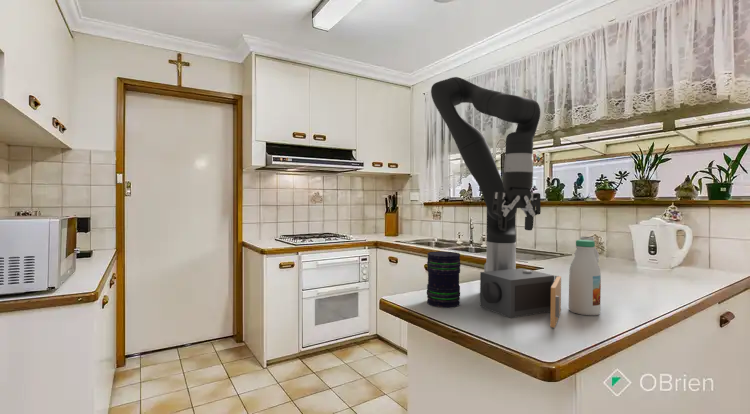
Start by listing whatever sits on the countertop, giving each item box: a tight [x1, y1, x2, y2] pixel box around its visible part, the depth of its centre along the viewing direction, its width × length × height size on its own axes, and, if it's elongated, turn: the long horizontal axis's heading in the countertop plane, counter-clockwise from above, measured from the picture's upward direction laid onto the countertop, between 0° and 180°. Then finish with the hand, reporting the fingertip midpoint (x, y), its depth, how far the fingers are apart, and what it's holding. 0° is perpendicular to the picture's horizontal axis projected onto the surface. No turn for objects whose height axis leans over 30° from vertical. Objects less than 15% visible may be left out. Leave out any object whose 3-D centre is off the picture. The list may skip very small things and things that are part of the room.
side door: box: [549, 275, 562, 329], centre depth 98 cm, size 17×2×10 cm, turn 149°
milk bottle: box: [568, 239, 602, 316], centre depth 105 cm, size 8×8×20 cm
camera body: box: [479, 267, 556, 319], centre depth 108 cm, size 18×12×11 cm
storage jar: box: [426, 250, 461, 309], centre depth 113 cm, size 10×10×15 cm
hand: (515, 230), depth 104 cm, fingers open, 8 cm apart
